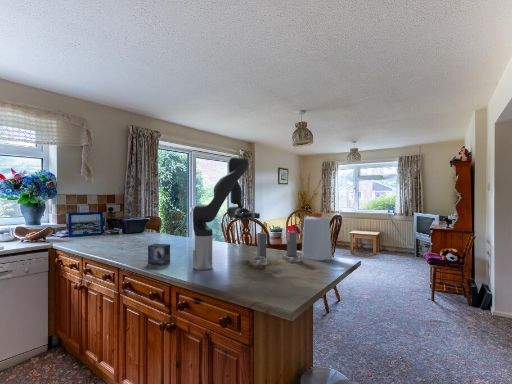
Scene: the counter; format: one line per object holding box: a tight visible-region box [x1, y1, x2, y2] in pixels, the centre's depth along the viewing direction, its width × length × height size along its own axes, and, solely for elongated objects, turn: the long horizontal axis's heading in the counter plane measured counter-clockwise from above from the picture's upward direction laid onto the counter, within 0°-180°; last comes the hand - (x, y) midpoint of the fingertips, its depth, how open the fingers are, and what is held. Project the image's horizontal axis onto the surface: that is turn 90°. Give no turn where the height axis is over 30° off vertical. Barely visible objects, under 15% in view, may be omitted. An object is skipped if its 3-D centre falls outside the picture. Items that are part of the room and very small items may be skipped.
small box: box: [147, 243, 171, 266], centre depth 155 cm, size 11×6×10 cm, turn 76°
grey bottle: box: [301, 211, 333, 261], centre depth 167 cm, size 15×15×28 cm
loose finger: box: [256, 232, 268, 258], centre depth 163 cm, size 5×4×16 cm
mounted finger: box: [285, 230, 298, 257], centre depth 157 cm, size 5×4×16 cm
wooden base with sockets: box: [248, 254, 303, 269], centre depth 154 cm, size 28×9×4 cm, turn 111°
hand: (250, 217), depth 151 cm, fingers open, 8 cm apart
